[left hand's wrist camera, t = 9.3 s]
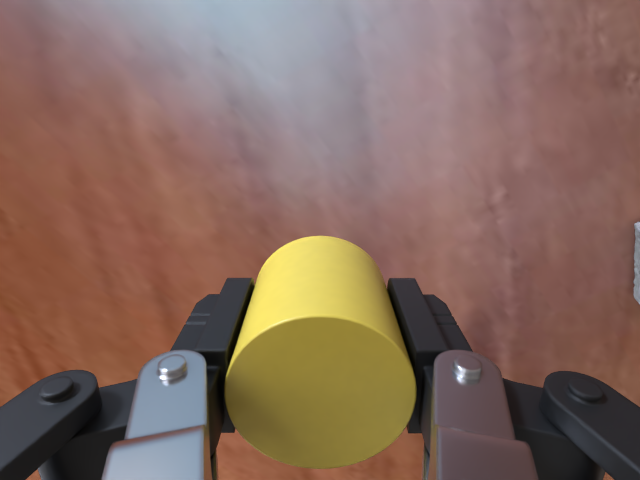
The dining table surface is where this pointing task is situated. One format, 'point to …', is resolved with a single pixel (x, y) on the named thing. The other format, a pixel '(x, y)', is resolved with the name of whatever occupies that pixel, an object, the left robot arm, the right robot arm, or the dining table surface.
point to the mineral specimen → (637, 262)
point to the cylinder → (320, 359)
